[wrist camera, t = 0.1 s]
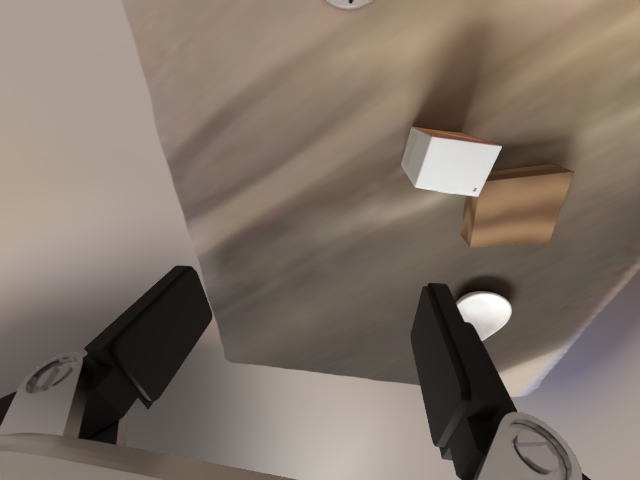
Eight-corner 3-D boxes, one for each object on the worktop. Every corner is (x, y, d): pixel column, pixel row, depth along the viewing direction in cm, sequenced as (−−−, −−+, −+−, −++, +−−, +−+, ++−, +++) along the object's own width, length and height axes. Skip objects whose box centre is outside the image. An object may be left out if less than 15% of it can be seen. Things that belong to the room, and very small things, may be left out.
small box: (462, 131, 37) (505, 145, 26) (446, 171, 41) (479, 198, 30) (410, 125, 38) (431, 135, 27) (399, 165, 41) (414, 189, 30)
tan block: (468, 173, 41) (481, 182, 36) (550, 163, 38) (574, 171, 34) (459, 233, 46) (470, 247, 42) (530, 228, 44) (548, 242, 40)
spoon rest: (468, 275, 51) (483, 299, 45) (515, 294, 52) (536, 320, 46) (409, 337, 63) (414, 362, 57) (448, 351, 64) (457, 378, 58)
